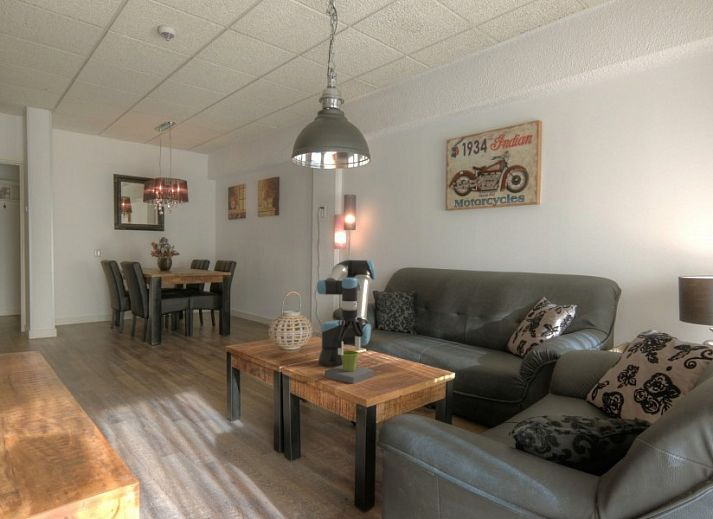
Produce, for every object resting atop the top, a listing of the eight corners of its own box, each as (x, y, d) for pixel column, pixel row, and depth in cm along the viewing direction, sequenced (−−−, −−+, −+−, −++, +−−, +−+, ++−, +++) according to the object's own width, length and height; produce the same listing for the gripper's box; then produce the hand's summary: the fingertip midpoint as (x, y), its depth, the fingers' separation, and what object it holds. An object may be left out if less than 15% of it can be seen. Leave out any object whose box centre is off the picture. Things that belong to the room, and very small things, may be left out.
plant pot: (343, 373, 204) (344, 355, 204) (336, 368, 212) (336, 351, 212) (361, 371, 208) (361, 353, 207) (354, 366, 216) (354, 349, 216)
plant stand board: (324, 376, 209) (324, 370, 209) (345, 369, 221) (345, 364, 221) (353, 383, 198) (353, 377, 198) (373, 376, 211) (373, 370, 210)
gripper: (339, 312, 197) (338, 358, 197) (370, 307, 217) (370, 348, 217) (326, 311, 202) (326, 355, 202) (358, 305, 221) (358, 346, 222)
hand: (349, 352), depth 210 cm, fingers open, 13 cm apart
